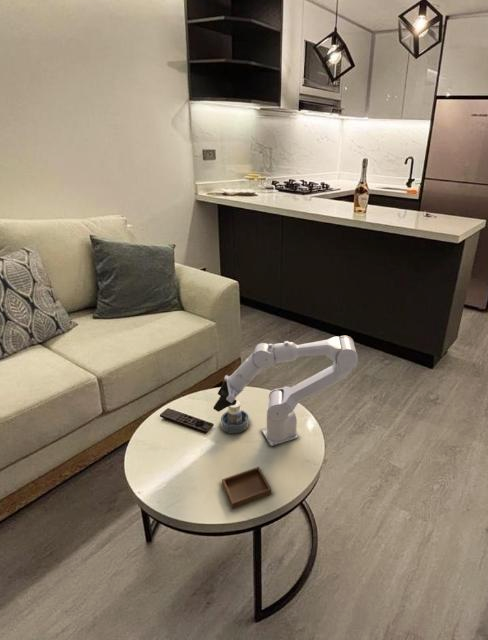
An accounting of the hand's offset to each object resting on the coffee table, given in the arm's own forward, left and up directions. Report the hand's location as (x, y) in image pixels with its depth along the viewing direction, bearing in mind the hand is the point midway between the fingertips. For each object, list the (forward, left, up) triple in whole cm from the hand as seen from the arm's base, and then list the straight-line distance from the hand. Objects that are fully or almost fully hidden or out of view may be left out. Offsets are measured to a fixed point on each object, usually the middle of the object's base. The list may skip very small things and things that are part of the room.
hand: (218, 402), depth 130 cm
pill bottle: (-6, -3, -13) cm, 15 cm away
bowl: (-6, -3, -13) cm, 15 cm away
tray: (0, +25, -13) cm, 28 cm away
